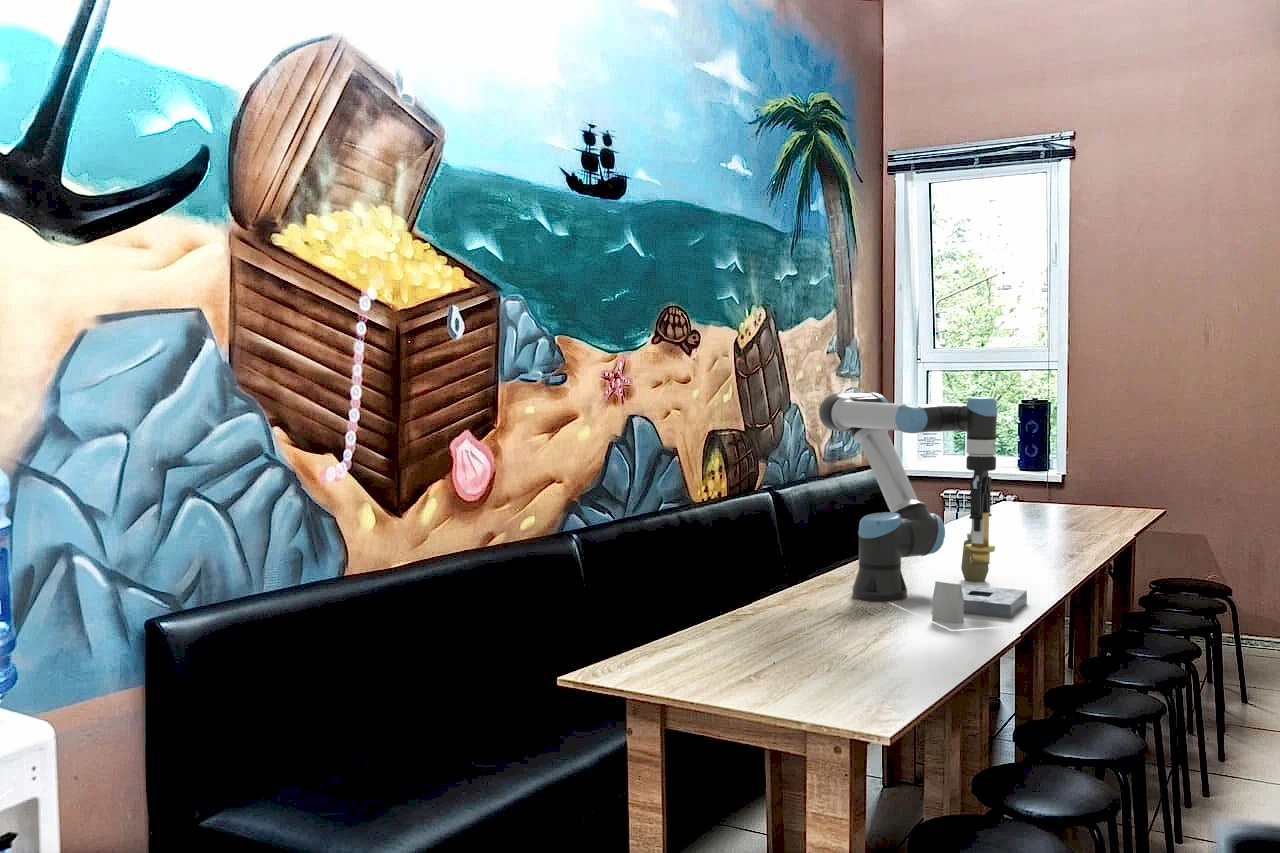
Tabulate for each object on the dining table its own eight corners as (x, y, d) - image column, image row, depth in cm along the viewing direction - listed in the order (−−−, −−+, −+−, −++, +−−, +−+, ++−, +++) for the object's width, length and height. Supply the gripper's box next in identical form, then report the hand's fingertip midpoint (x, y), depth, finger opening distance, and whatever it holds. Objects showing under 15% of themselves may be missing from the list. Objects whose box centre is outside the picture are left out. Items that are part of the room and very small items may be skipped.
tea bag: (957, 625, 274) (957, 585, 273) (932, 621, 278) (932, 582, 278) (963, 622, 277) (963, 583, 276) (938, 618, 281) (938, 580, 280)
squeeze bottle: (958, 581, 328) (958, 522, 327) (963, 577, 335) (964, 519, 334) (986, 584, 324) (986, 524, 323) (990, 579, 331) (991, 520, 330)
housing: (1010, 620, 278) (1010, 604, 278) (932, 611, 288) (932, 596, 288) (1026, 605, 295) (1026, 590, 295) (952, 597, 306) (952, 583, 305)
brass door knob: (974, 566, 287) (974, 515, 286) (959, 561, 294) (960, 511, 294) (1000, 565, 289) (1001, 514, 288) (985, 559, 296) (985, 510, 295)
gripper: (987, 458, 280) (986, 548, 282) (1003, 453, 295) (1001, 538, 297) (958, 457, 284) (957, 545, 286) (975, 452, 299) (973, 536, 301)
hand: (980, 541), depth 291 cm, fingers closed on brass door knob, 4 cm apart
